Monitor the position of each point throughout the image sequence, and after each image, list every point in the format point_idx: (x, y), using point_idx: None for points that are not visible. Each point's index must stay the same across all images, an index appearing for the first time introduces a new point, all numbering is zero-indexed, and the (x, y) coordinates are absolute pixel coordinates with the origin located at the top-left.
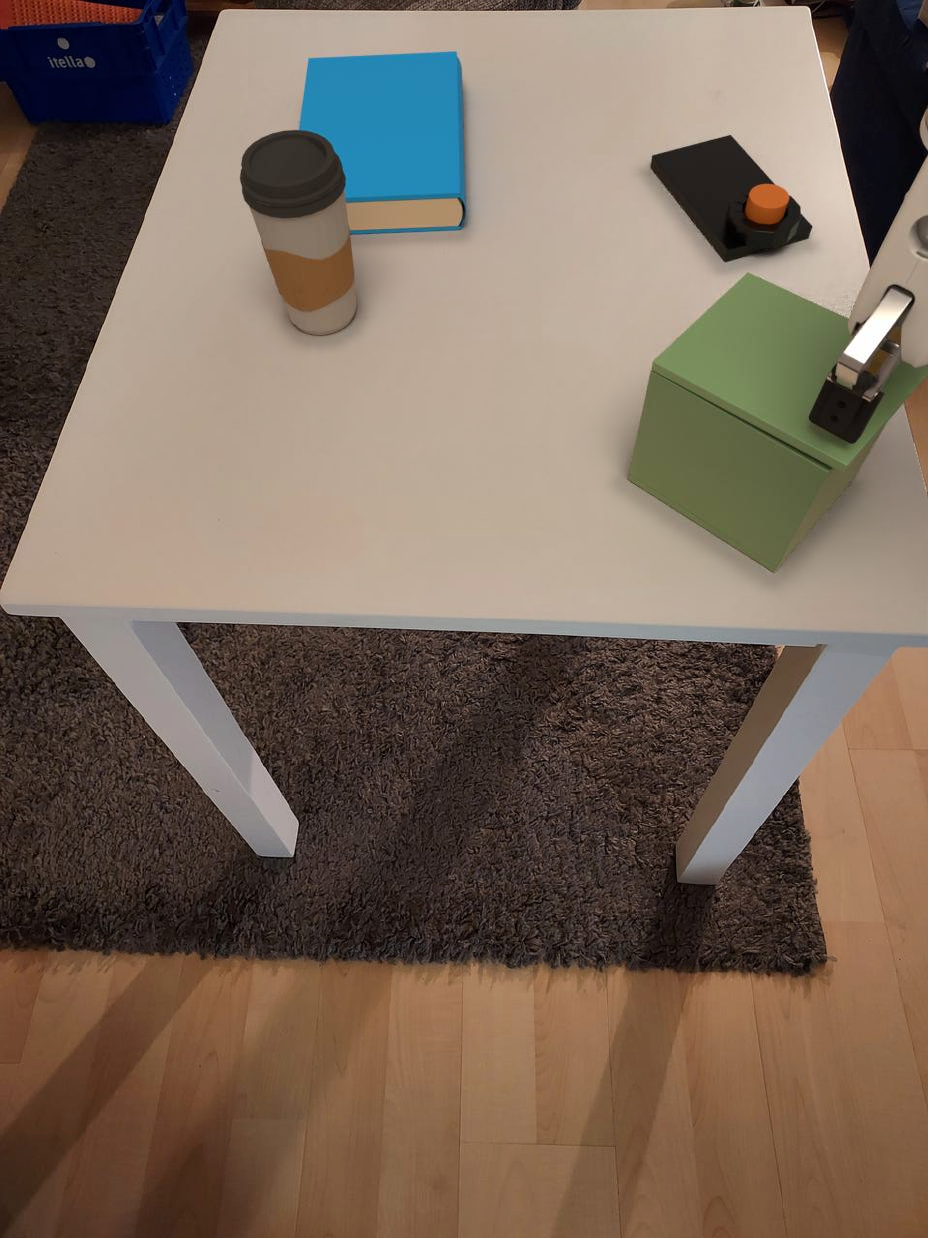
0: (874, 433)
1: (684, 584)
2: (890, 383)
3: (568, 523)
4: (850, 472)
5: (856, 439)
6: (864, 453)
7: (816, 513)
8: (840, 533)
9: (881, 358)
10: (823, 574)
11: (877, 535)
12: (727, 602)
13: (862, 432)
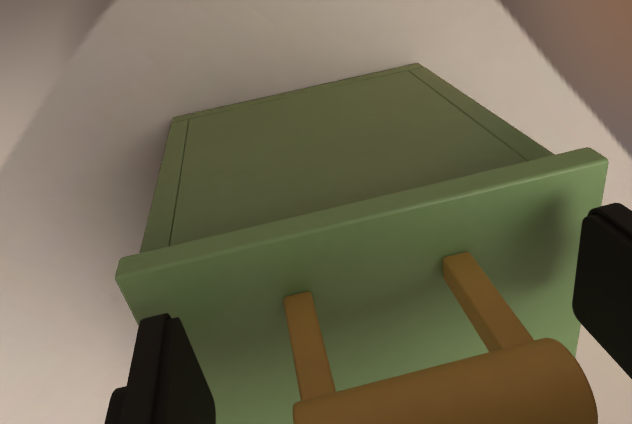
0: (473, 191)
1: (519, 127)
2: (294, 281)
3: None
4: (252, 132)
5: (626, 210)
6: (219, 149)
7: (363, 103)
8: (276, 51)
9: (570, 420)
10: (363, 9)
11: (226, 6)
12: (506, 67)
13: (622, 220)
